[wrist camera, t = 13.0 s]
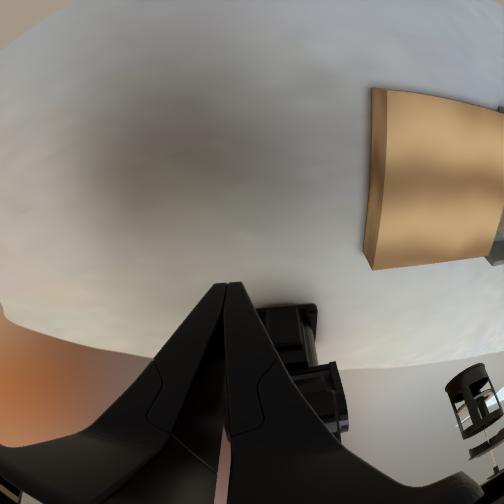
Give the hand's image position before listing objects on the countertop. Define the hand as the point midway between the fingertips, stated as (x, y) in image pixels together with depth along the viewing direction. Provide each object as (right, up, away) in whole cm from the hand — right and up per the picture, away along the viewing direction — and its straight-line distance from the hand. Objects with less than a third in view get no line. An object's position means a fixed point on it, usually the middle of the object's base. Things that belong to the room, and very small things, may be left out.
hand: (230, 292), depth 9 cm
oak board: (+16, +7, +10) cm, 20 cm away
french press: (+42, -23, +30) cm, 57 cm away
